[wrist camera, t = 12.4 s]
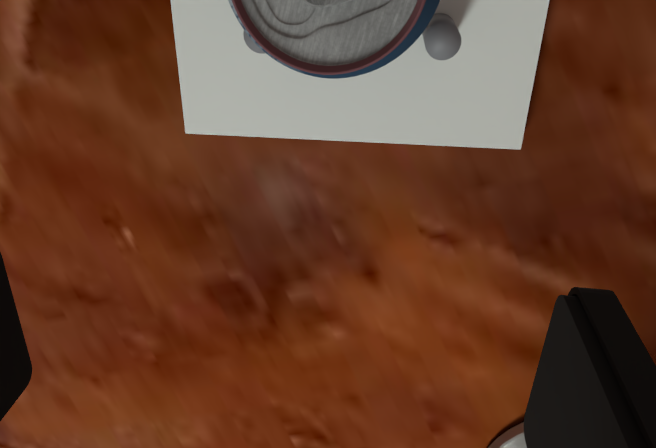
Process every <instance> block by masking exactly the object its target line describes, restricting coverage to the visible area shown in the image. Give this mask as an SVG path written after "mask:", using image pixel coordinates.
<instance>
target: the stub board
mask: <svg viewBox="0 0 656 448" xmlns="http://www.w3.org/2000/svg"><path fill="white" fill-rule="evenodd" d="M548 5H549V0H440V2H439V5H438V7H437V9H436V11H435V13H434V15H433V17H432V19H431V21H430V22H429V24H428V26H427V27H426V29H425V30H424V31H423V33H422V34H421V35H420V37H419V38H418V39H417V40H416V41H415V42H414V43H413V44H412V45H411V46H410V47H409V48H408V49H407V50H406V51H405V52H404V53H403V54H401V55H400V56H399V57H397V58H396V59H395V60H393V61H392V62H390V63H388V64H386V65H385V66H383V67H381V68H379V69H376V70H374V71H371V72H369V73H366V74H363V75H359V76H354V77H349V78H339V79H329V78H319V77H314V76H310V75H306V74H303V73H300V72H297V71H295V70H292V69H290V68H288V67H286V66H284V65H282V64H281V63H279V62H277V61H276V60H274V59H273V58H271V57H270V56H269V55H267V54H266V53H265V52H264V51H262V50H261V49H260V48H259V47H258V46H257V45H256V44H255V43H254V42H253V41H252V39H251V38H250V37H249V36H248V35H247V33H246V32H245V31H244V29H243V28H242V26H241V25H240V23H239V22H238V20H237V18H236V16H235V14H234V12H233V10H232V8H231V6H230V4H229V1H228V0H171V8H172V17H173V26H174V35H175V44H176V53H177V62H178V71H179V79H180V88H181V97H182V106H183V115H184V124H185V133H187V134H208V135H229V136H250V137H271V138H292V139H312V140H333V141H354V142H375V143H396V144H417V145H437V146H458V147H479V148H500V149H521V145H522V140H523V135H524V130H525V125H526V119H527V114H528V109H529V104H530V99H531V93H532V88H533V83H534V78H535V73H536V68H537V62H538V57H539V52H540V47H541V42H542V36H543V31H544V26H545V21H546V16H547V10H548Z"/></svg>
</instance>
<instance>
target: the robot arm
mask: <svg viewBox="0 0 656 448" xmlns="http://www.w3.org/2000/svg"><path fill="white" fill-rule="evenodd" d="M31 374H32V364H31V361H30V357H29V353H28V350H27V346H26V342H25V339H24V335H23V331H22V328H21V324H20V320H19V317H18V313H17V310H16V306H15V302H14V299H13V295H12V291H11V288H10V284H9V280H8V277H7V273H6V270H5V266H4V262H3V259H2V255H1V253H0V421H1V420H2V418H3V417H4V416H5V414H6V413H7V412H8V411H9V409H10V408H11V407H12V405H13V404H14V403H15V401H16V400H17V399H18V397H19V396H20V395H21V394H22V392H23V391H24V390H25V388H26V387H27V385H28V384H29V381H30V379H31ZM488 448H656V366H655V364H654V362H653V360H652V359H651V357H650V355H649V353H648V351H647V350H646V348H645V346H644V344H643V343H642V341H641V339H640V337H639V335H638V334H637V332H636V330H635V328H634V327H633V325H632V323H631V321H630V320H629V318H628V316H627V314H626V312H625V311H624V309H623V307H622V305H621V304H620V302H619V300H618V298H617V296H616V295H615V294H614V292H613V291H610V290H602V289H591V288H579V287H574V288H572V289H571V290H570V292H569V294H568V296H566V295H560V296H558V298H557V300H556V303H555V306H554V310H553V313H552V317H551V321H550V324H549V328H548V332H547V335H546V339H545V343H544V346H543V350H542V354H541V357H540V361H539V365H538V368H537V372H536V376H535V379H534V383H533V387H532V390H531V394H530V398H529V401H528V405H527V409H526V412H525V417H524V422H523V423H521V424H519V425H517V426H515V427H513V428H511V429H509V430H508V431H506V432H505V433H503V434H502V435H501V436H499V437H498V438H497V439H496V440H495V441H494V442H493V443H492V444H491V445H490V446H489V447H488Z"/></svg>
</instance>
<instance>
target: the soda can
mask: <svg viewBox="0 0 656 448" xmlns="http://www.w3.org/2000/svg"><path fill="white" fill-rule="evenodd" d="M228 1H229V4H230V6H231V8H232V10H233V12H234V14H235V16H236V18H237V20H238V22H239V23H240V25H241V26H242V28H243V29H244V31H245V32H246V33H247V35H248V36H249V37H250V38H251V39H252V41H253V42H254V43H255V44H256V45H257V46H258V47H259V48H260V49H261V50H262V51H264V52H265V53H266V54H267V55H269V56H270V57H271V58H273V59H274V60H276V61H277V62H279V63H281V64H282V65H284V66H286V67H288V68H290V69H292V70H295V71H297V72H300V73H303V74H306V75H310V76H314V77H319V78H329V79H339V78H349V77H354V76H359V75H363V74H366V73H369V72H371V71H374V70H376V69H379V68H381V67H383V66H385V65H386V64H388V63H390V62H392V61H393V60H395V59H396V58H397V57H399V56H400V55H401V54H403V53H404V52H405V51H406V50H407V49H408V48H409V47H410V46H411V45H412V44H413V43H414V42H415V41H416V40H417V39H418V38H419V37H420V35H421V34H422V33H423V31H424V30H425V29H426V27H427V26H428V24H429V22H430V21H431V19H432V17H433V15H434V13H435V11H436V9H437V7H438V5H439V2H440V0H228Z"/></svg>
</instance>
